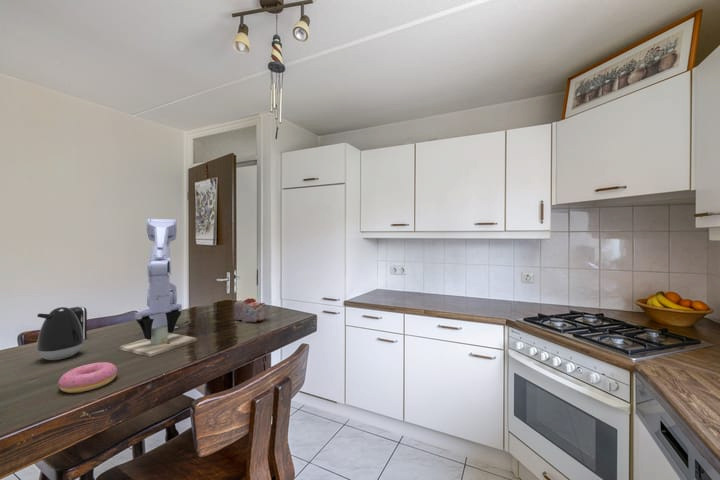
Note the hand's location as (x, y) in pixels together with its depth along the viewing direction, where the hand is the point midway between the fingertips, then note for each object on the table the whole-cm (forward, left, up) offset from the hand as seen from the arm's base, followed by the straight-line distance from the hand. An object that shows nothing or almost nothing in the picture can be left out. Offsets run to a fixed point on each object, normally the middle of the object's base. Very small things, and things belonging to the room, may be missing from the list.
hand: (159, 335), depth 103 cm
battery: (-34, -8, -3) cm, 35 cm away
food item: (+5, +36, -3) cm, 37 cm away
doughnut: (+12, -25, -4) cm, 28 cm away
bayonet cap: (0, 0, -2) cm, 2 cm away
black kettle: (-17, -19, -3) cm, 26 cm away
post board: (0, 0, -3) cm, 3 cm away
